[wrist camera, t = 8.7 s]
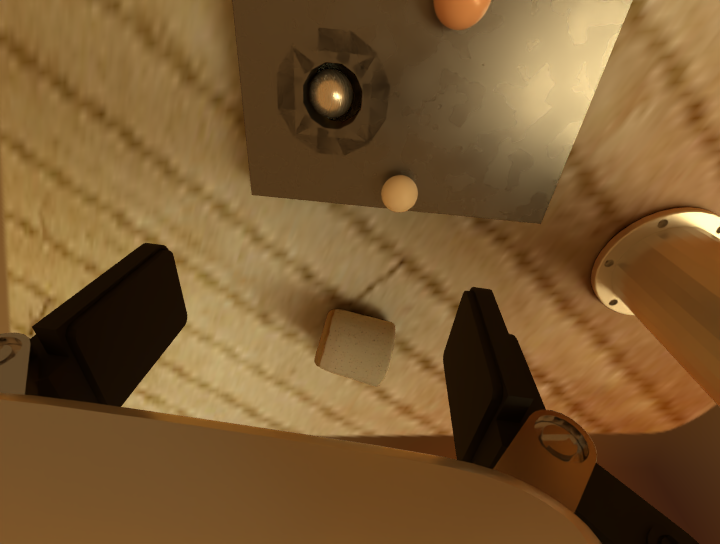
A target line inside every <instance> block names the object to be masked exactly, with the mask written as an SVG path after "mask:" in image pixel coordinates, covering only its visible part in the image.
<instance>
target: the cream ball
mask: <svg viewBox="0 0 720 544" xmlns="http://www.w3.org/2000/svg"><path fill="white" fill-rule="evenodd" d="M381 196H382V201H383V203H384V205H385V206H386V207H387V208H388V209H390V210H391V211H394V212H404V211H407V210H409V209H410V208H411V207H412V206H413V205H414V204H415V202H416V200H417V197H418V190H417V186H416V184H415V183H414V181H413V180H412V179H410V178H409V177H407V176H404V175H397V176H393V177H391V178H390V179H388V180H387V181H386V182H385V184H384V185H383V188H382V192H381Z"/></svg>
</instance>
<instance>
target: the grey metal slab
mask: <svg viewBox="0 0 720 544" xmlns="http://www.w3.org/2000/svg"><path fill="white" fill-rule="evenodd" d="M232 1H233V11H234V21H235V31H236V41H237V51H238V61H239V71H240V81H241V91H242V101H243V111H244V121H245V131H246V141H247V151H248V161H249V171H250V181H251V191H252V195H259V196H269V197H279V198H289V199H299V200H309V201H319V202H329V203H339V204H348V205H358V206H368V207H378V208H387V207H386V206H385V205H384V203H383V201H382V196H381V192H382V188H383V185H384V184H385V182H386V181H387V180H388V179H390V178H391V177H393V176H397V175H404V176H407V177H409V178H410V179H412V180H413V181H414V183H415V184H416V186H417V190H418V197H417V200H416V202H415V204H414V205H413V206H412V207H411V208H410V209H409V210H408V211H418V212H428V213H438V214H448V215H458V216H468V217H478V218H488V219H498V220H508V221H518V222H528V223H538V224H541V222H542V220H543V217H544V215H545V212H546V210H547V207H548V205H549V202H550V200H551V198H552V195H553V193H554V190H555V188H556V185H557V183H558V181H559V178H560V176H561V173H562V171H563V168H564V166H565V163H566V161H567V159H568V156H569V154H570V151H571V149H572V146H573V144H574V141H575V139H576V137H577V134H578V132H579V129H580V127H581V124H582V122H583V120H584V117H585V115H586V112H587V110H588V107H589V105H590V102H591V100H592V98H593V95H594V93H595V90H596V88H597V85H598V83H599V80H600V78H601V76H602V73H603V71H604V68H605V66H606V63H607V61H608V59H609V56H610V54H611V51H612V49H613V46H614V44H615V41H616V39H617V37H618V34H619V32H620V29H621V27H622V24H623V22H624V19H625V17H626V15H627V12H628V10H629V7H630V5H631V2H632V0H491V3H490V5H489V8H488V10H487V11H486V13H485V15H484V16H483V17H482V18H481V19H480V20H479V21H478V22H477V23H476V24H475V25H473V26H471V27H470V28H467V29H464V30H452V29H449V28H447V27H446V26H444V25H443V24H442V23H441V22H440V21H439V19H438V17H437V15H436V13H435V9H434V3H433V0H232ZM328 62H331V63H341V64H343V65H344V66H346V67H347V68H348V69H349V70H351V71H352V72H353V73H354V74H356V77H357V79H358V81H359V84H360V86H361V89H362V91H363V93H362V106H361V108H360V109H359V111H358V113H357V114H356V115H355V116H353V117H351V118H349V119H347V120H345V121H334V120H329V119H328V118H327V117H324V116H322V115H321V114H319V113H318V112H317V111H316V110H315V109H314V107H313V105H312V103H311V101H310V96H309V89H310V85H311V81H312V80H313V78H314V76H315V74H316V72H317V70H318V68H319V67H321V66H323V65H324V64H326V63H328Z"/></svg>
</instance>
